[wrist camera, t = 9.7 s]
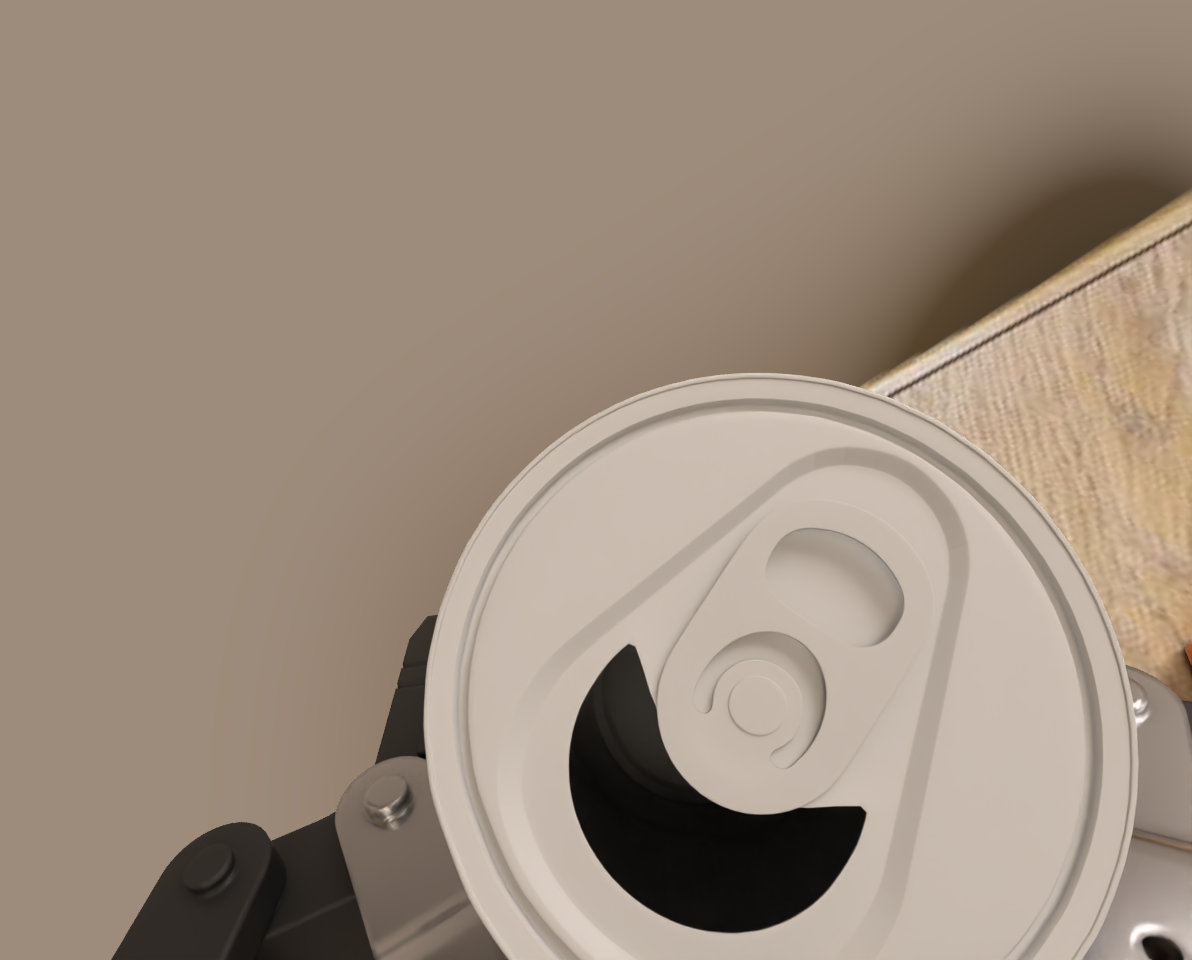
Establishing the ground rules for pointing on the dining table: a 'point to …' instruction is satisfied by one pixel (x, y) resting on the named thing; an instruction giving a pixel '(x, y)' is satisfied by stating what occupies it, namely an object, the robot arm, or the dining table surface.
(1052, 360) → the dining table surface
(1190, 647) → the supplement box
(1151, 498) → the dining table surface
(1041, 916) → the beverage can
